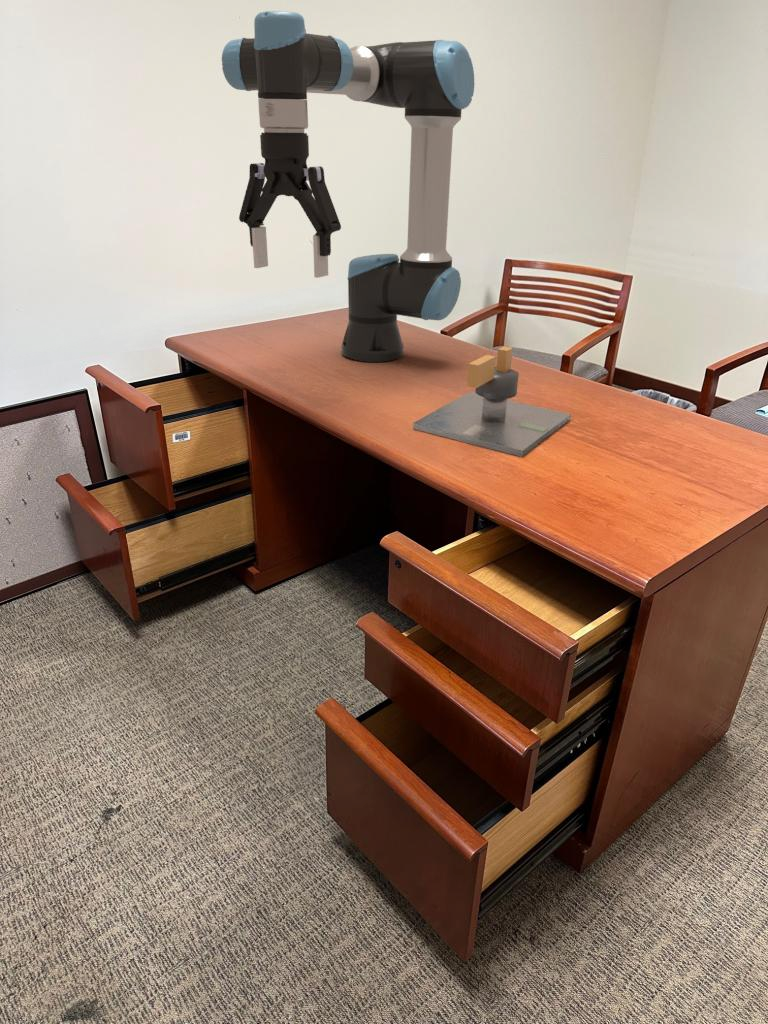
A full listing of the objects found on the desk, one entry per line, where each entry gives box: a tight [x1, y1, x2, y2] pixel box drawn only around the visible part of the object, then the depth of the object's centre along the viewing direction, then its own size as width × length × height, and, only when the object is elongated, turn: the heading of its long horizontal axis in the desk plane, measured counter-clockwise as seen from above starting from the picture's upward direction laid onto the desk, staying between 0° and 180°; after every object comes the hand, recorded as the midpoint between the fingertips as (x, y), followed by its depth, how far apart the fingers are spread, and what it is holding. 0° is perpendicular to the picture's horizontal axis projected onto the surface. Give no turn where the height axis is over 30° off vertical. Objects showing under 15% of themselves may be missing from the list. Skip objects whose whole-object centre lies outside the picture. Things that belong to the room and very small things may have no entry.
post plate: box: [412, 391, 572, 458], centre depth 138 cm, size 22×22×6 cm
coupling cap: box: [466, 346, 520, 400], centre depth 132 cm, size 14×8×8 cm, turn 146°
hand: (290, 271), depth 125 cm, fingers open, 13 cm apart
